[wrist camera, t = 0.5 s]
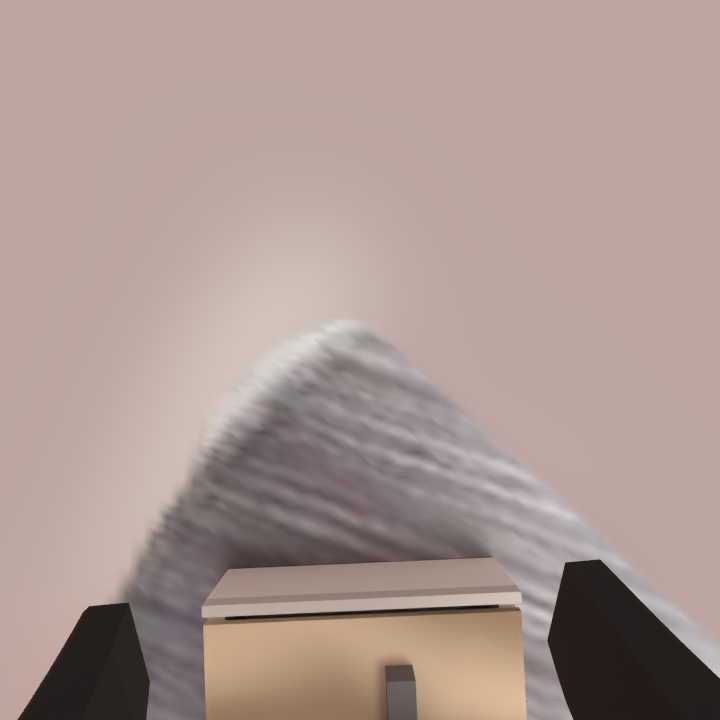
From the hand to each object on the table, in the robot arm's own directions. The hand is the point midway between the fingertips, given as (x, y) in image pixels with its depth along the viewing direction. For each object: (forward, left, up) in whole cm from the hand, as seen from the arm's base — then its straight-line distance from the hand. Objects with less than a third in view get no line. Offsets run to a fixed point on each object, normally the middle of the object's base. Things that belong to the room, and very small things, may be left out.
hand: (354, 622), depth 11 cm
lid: (-11, 0, -19) cm, 22 cm away
